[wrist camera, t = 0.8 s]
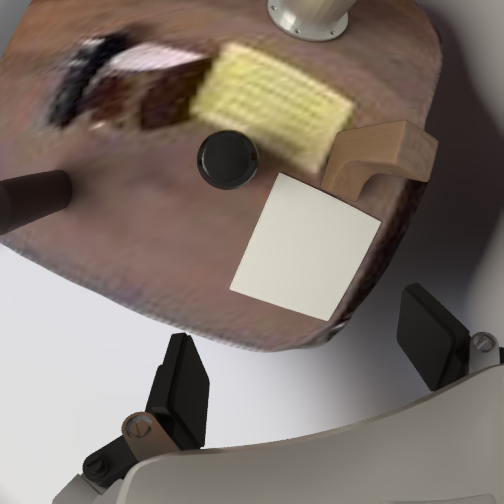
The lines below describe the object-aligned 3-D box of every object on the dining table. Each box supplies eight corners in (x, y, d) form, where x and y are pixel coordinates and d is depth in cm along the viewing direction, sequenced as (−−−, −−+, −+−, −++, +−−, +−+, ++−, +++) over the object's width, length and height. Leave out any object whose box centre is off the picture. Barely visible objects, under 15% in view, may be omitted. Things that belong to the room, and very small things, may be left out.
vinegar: (72, 168, 34) (-19, 187, 16) (73, 210, 37) (-13, 250, 18) (43, 171, 34) (-44, 191, 15) (44, 209, 36) (-38, 246, 17)
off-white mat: (279, 172, 37) (279, 172, 36) (379, 221, 40) (381, 222, 40) (229, 287, 42) (229, 289, 42) (327, 319, 46) (328, 321, 45)
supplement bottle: (263, 170, 37) (274, 175, 25) (219, 192, 38) (212, 207, 26) (240, 127, 35) (241, 113, 23) (196, 150, 35) (178, 147, 24)
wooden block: (345, 197, 39) (414, 228, 22) (318, 187, 38) (378, 212, 21) (362, 143, 36) (440, 140, 19) (336, 131, 35) (406, 117, 18)
